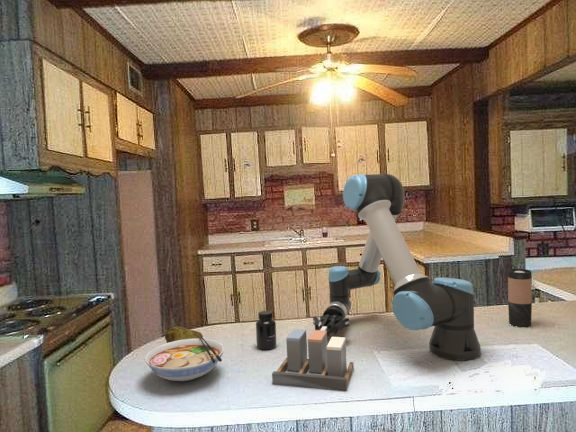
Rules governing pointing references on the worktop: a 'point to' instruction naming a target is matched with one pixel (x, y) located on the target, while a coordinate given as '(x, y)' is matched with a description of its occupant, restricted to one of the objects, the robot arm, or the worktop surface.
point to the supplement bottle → (266, 331)
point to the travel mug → (519, 297)
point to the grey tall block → (336, 357)
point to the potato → (181, 334)
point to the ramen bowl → (184, 358)
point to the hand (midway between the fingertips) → (320, 337)
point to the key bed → (311, 378)
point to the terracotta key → (317, 351)
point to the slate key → (296, 349)
